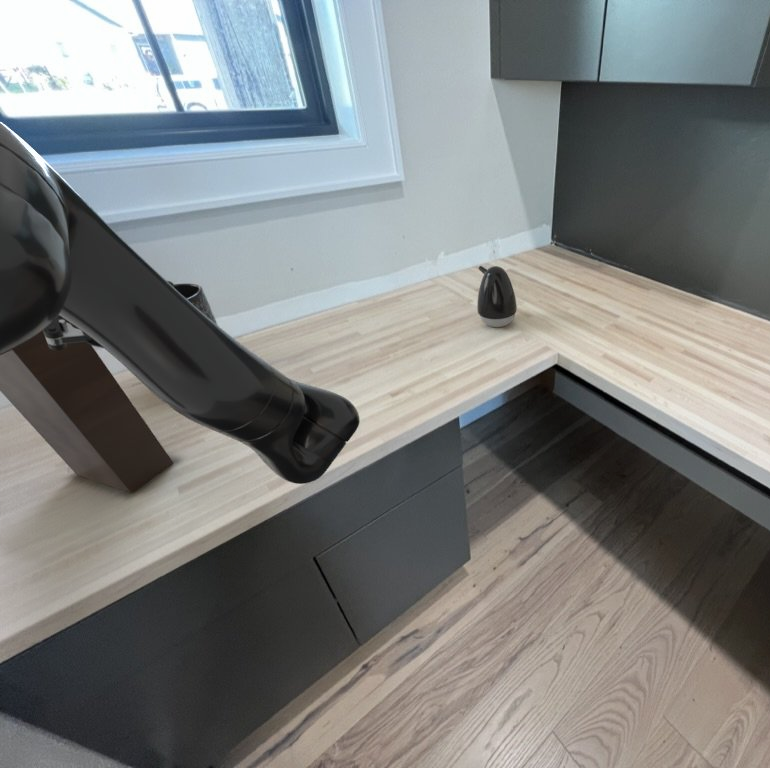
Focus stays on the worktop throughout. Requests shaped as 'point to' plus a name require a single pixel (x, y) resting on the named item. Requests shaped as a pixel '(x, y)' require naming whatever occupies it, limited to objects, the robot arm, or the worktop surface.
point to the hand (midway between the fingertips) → (41, 265)
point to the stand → (82, 412)
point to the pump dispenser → (496, 297)
